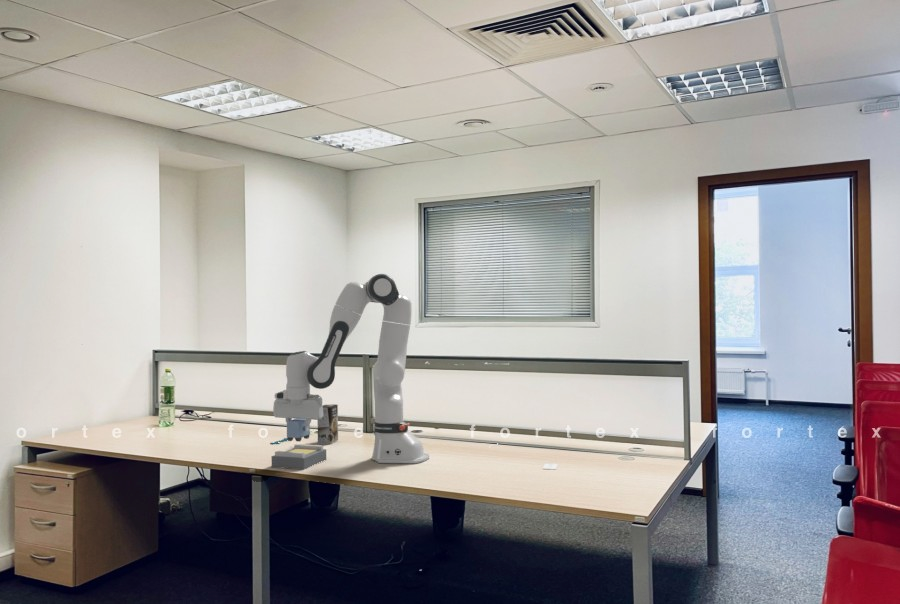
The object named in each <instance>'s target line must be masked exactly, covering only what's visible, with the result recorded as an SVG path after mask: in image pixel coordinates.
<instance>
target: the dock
mask: <svg viewBox="0 0 900 604" xmlns="http://www.w3.org/2000/svg"><path fill="white" fill-rule="evenodd" d="M293 446H294V448H290V449H288V450H285V451H280V450H279V451H278V450H277V451H274V455H271V468H277V467H284V468H283V469H291V468H294V469H295V470H306V469H308V467H309V468H311V467H313V466H315V465H314V464H316V465H318V464H320V463H322V462H324V460H325V461H327V449H324V445H321V444H317V445H316V444H298V443H296V444H294V445H293ZM321 461H322V462H321ZM319 462H320V463H319ZM317 463H318V464H317ZM312 465H313V466H312ZM310 466H311V467H310Z"/></svg>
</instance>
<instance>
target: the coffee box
mask: <svg viewBox="0 0 900 604" xmlns="http://www.w3.org/2000/svg"><path fill="white" fill-rule="evenodd" d="M322 406H323V417H322V418H321V419H318V420H317V430H318V432H317V445H331V444H332V445H333V442H334V443H336V442H337V440H338V441H339V421H338V420H339V417H338V416H339V415H338V414H339V413H338V412H339V411H338V410H339V409H338V406H339V405H338V404H324V405H323V404H322ZM335 441H336V442H335Z"/></svg>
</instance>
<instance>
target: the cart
mask: <svg viewBox="0 0 900 604" xmlns="http://www.w3.org/2000/svg"><path fill="white" fill-rule="evenodd" d="M305 425H306V422H305V419H295V418H292V420H290V421H287V423H286V438H287V440H288V441H287V442H292V441H294V439H295V442H301V441H302V438H303V439H306V440H307V439H309V438H310V435H311V434H310V432H311V428H310V427H311V426H310V425H311V424H310V425H309V430H308V431H303V426H305Z"/></svg>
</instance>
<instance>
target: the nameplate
mask: <svg viewBox="0 0 900 604" xmlns="http://www.w3.org/2000/svg"><path fill="white" fill-rule="evenodd" d="M278 442H282V443H284V442H288V441H287V437H286V438H285V437H284V438H283V439H281V440H278V441H274V442H270V443H269V445H280V444H281V443H278Z"/></svg>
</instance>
